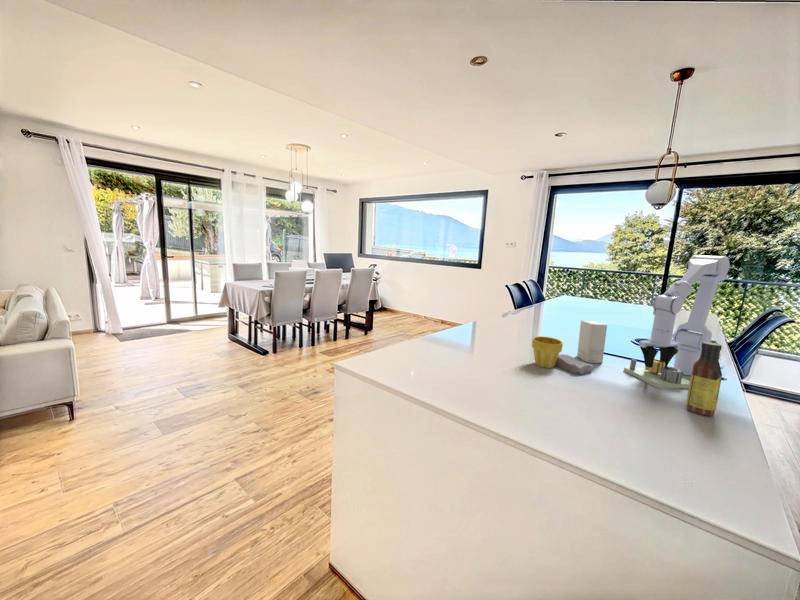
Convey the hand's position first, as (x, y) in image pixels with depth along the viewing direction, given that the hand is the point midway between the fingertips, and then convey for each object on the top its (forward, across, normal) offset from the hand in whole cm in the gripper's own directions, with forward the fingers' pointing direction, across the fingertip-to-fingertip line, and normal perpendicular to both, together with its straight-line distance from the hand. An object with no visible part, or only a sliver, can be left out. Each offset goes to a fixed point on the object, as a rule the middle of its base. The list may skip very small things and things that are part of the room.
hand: (655, 366), depth 120 cm
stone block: (+4, +25, -9) cm, 27 cm away
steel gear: (+2, 0, +6) cm, 7 cm away
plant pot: (+4, +35, -12) cm, 37 cm away
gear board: (+4, 0, +2) cm, 4 cm away
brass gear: (+2, 0, 0) cm, 2 cm away
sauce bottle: (+4, +9, +24) cm, 26 cm away
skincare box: (+4, +12, -18) cm, 22 cm away
